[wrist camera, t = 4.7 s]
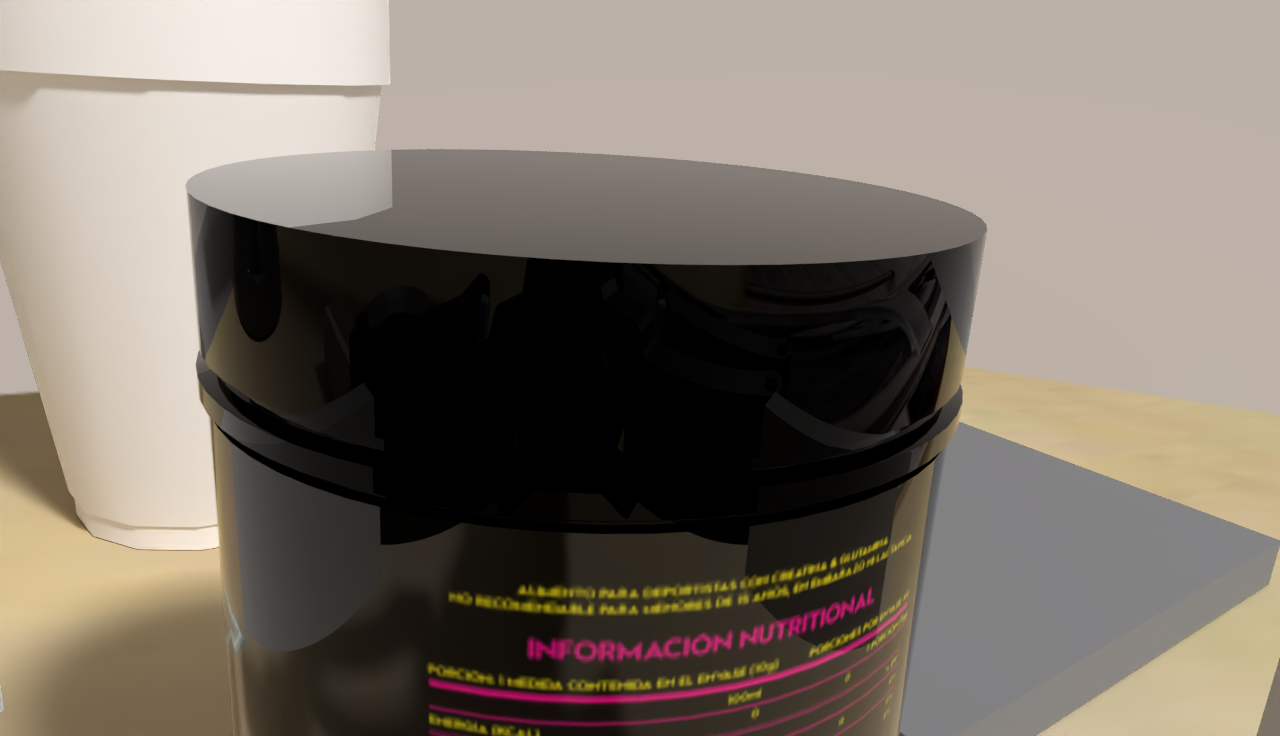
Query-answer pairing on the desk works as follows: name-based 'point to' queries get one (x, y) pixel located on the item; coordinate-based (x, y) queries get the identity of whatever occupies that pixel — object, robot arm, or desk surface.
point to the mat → (1057, 587)
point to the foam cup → (151, 214)
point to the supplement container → (573, 440)
